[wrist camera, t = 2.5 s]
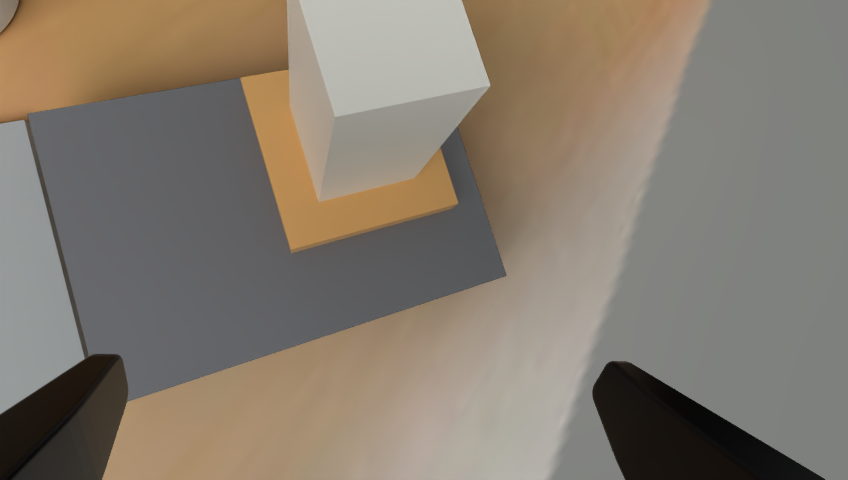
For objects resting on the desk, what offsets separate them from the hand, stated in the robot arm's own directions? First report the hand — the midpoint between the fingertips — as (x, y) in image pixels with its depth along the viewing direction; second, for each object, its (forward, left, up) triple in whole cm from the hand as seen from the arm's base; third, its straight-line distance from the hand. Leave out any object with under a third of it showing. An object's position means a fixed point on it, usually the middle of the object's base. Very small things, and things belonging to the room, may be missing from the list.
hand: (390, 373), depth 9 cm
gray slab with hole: (+6, 0, -14) cm, 15 cm away
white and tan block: (+8, -3, -13) cm, 16 cm away
